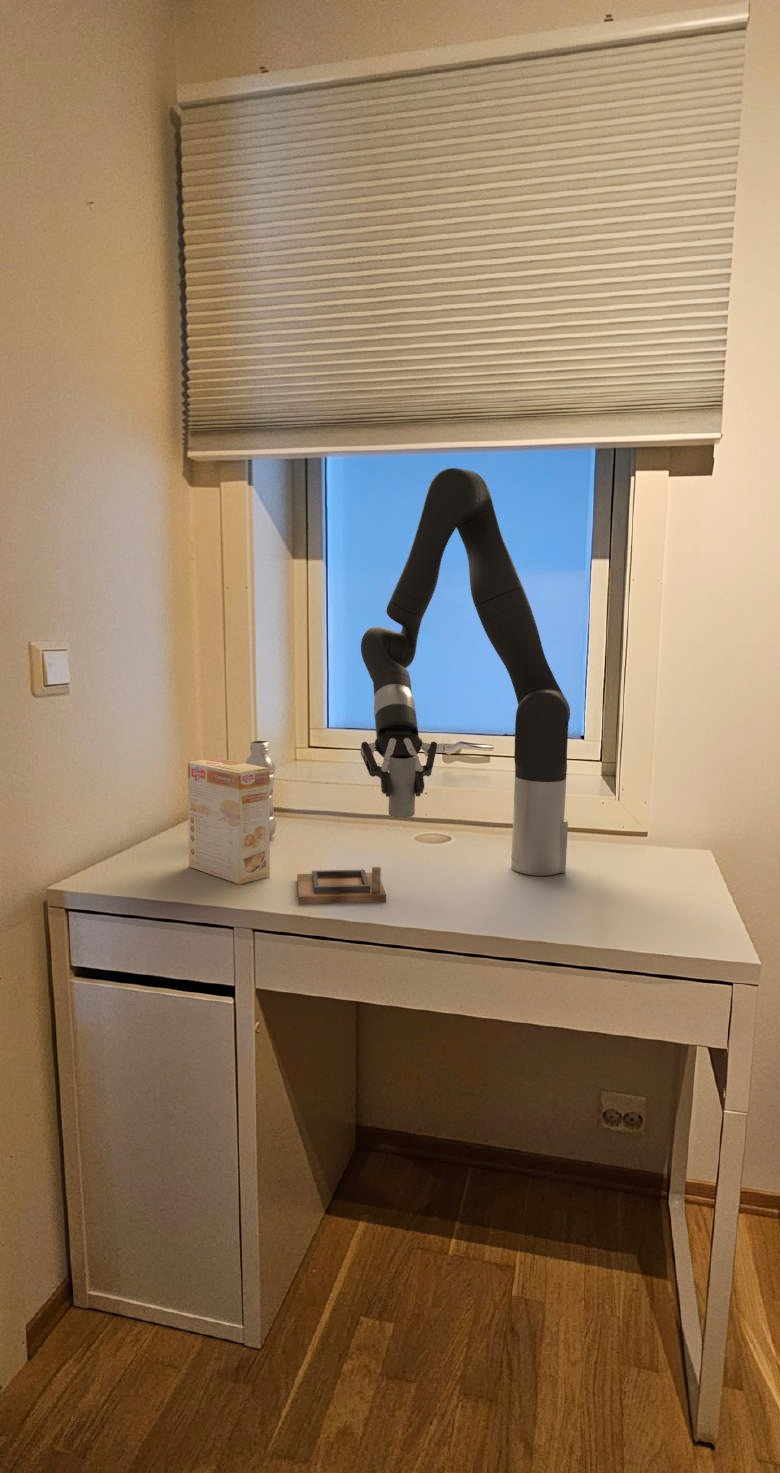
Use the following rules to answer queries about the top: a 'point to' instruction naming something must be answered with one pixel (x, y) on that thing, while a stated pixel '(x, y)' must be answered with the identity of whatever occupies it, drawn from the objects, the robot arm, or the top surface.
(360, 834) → the top surface
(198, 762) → the coffeecake box
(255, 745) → the plastic bottle
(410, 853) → the top surface
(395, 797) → the grey hollow cylinder
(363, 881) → the socket board
